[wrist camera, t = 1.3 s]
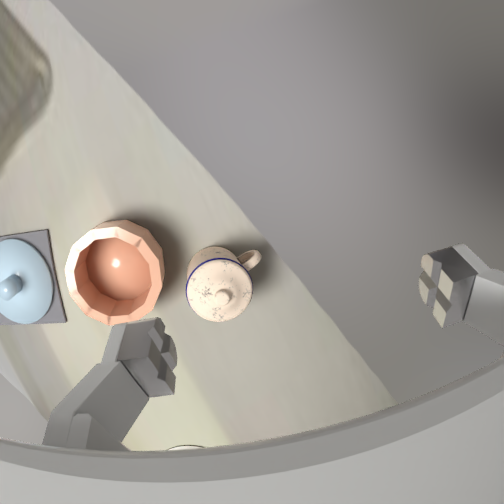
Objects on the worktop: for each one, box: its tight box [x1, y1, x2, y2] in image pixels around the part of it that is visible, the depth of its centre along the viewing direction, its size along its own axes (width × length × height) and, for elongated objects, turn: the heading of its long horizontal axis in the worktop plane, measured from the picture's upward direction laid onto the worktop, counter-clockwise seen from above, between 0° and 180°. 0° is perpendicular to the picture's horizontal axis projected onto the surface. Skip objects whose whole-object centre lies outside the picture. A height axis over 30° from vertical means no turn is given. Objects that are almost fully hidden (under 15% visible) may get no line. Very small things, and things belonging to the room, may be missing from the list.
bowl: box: [65, 220, 165, 325], centre depth 44 cm, size 14×14×7 cm
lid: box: [0, 238, 54, 324], centre depth 41 cm, size 15×15×5 cm
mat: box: [0, 230, 66, 325], centre depth 44 cm, size 16×16×1 cm
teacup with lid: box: [186, 247, 261, 322], centre depth 46 cm, size 12×9×12 cm
